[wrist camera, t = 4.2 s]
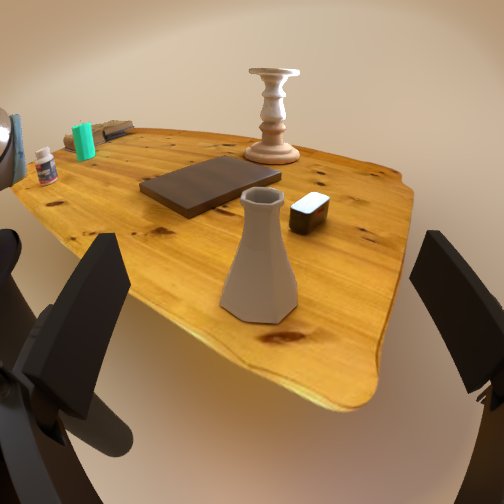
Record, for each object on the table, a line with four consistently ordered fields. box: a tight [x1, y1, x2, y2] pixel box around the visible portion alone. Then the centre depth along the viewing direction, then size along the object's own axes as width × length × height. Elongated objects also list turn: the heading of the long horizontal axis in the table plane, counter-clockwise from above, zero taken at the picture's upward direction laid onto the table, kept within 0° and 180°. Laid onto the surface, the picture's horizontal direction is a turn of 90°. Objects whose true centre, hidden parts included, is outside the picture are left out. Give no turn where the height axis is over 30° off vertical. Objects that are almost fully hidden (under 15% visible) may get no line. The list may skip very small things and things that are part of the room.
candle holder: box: [244, 68, 299, 164], centre depth 55 cm, size 12×12×20 cm
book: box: [63, 120, 134, 152], centre depth 87 cm, size 25×17×6 cm
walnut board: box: [139, 155, 281, 219], centre depth 47 cm, size 20×15×2 cm
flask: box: [220, 187, 298, 324], centre depth 23 cm, size 7×7×10 cm
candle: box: [72, 122, 96, 161], centre depth 66 cm, size 6×6×12 cm
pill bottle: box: [35, 147, 58, 186], centre depth 52 cm, size 5×5×9 cm
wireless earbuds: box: [289, 192, 330, 235], centre depth 36 cm, size 5×7×3 cm, turn 142°
